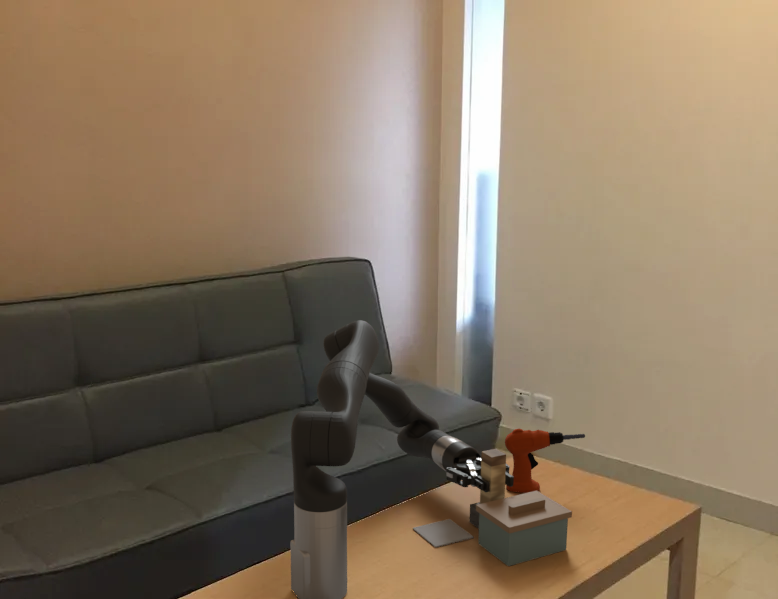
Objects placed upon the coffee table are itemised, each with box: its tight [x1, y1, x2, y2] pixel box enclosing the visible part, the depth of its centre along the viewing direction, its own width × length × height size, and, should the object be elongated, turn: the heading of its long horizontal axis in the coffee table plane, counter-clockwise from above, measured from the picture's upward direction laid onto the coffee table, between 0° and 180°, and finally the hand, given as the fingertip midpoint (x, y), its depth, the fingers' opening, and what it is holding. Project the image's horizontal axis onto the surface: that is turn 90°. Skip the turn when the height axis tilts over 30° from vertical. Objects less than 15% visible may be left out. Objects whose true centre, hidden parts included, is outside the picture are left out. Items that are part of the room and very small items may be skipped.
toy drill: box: [504, 428, 586, 494], centre depth 190 cm, size 5×19×15 cm, turn 85°
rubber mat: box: [412, 518, 474, 549], centre depth 170 cm, size 9×9×1 cm
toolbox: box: [476, 491, 573, 567], centre depth 163 cm, size 15×11×10 cm
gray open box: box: [468, 501, 480, 530], centre depth 173 cm, size 7×7×4 cm
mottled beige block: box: [479, 448, 507, 504], centre depth 172 cm, size 4×4×16 cm
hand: (500, 484), depth 169 cm, fingers open, 5 cm apart
